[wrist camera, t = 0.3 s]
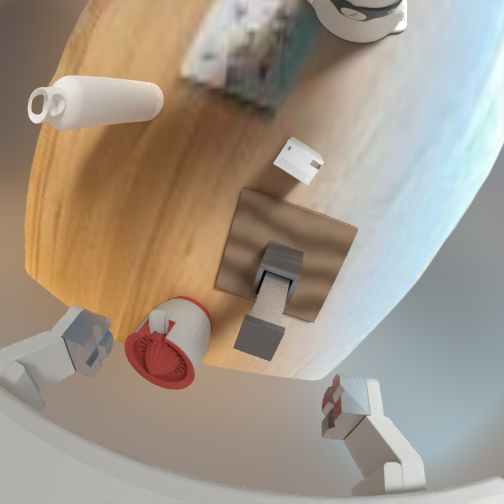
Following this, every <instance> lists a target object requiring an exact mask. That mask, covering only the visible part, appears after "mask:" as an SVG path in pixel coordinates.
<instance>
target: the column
mask: <svg viewBox="0 0 504 504" xmlns="http://www.w3.org/2000/svg"><path fill="white" fill-rule="evenodd" d="M289 283H290V279H289V278H286V277H283V276H281V275H278V274H275V273H272V272H270V271H267V272H266V275H265V278H264V280H263V283H262V286H261V288H260V291H259V294H258V296H257V299H256V302H255V305H254V307H253V310H252V313H251V315H248V314H246V315H245V317H244V320H243V323H242V325H241V328H240V331H239V334H238V336H237V339H236V342H235V345H234V348H235V349H237V350H240V351H243V352H245V353H248V354H251V355H254V356H257V357H260V358H262V359H265V360H268V361H271V359H272V357H273V355H274V353H275V351H276V349H277V347H278V345H279V343H280V341H281V339H282V337H283V335H284V331H285V328H284V327H281V326H280V324H281V319H282V315H283V310H284V306H285V301H286V297H287V292H288V287H289Z"/></svg>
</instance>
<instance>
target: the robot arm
mask: <svg viewBox="0 0 504 504" xmlns="http://www.w3.org/2000/svg"><path fill="white" fill-rule="evenodd" d="M306 1H308V2H309V3H310V4H311V5H312V6H313V8H314V10H315V12H316V14H317V17H318V18H319V20H320V22H321V23H322V24H323V25H324V26H325V27H326V28H327V29H328V30H329V31H330V32H332V33H333V34H335V35H336V36H338V37H340V38H342V39H345V40H348V41H352V42H359V43H366V42H373V41H376V40H379V39H381V38H383V37H384V36H386V35H388V34H390V33H396V32H402V31H404V30H405V29H406V27H407V0H306ZM401 20H402V21H401ZM110 326H111V325H110V320H109V319H108V318H106V317H104V316H101V315H98V314H96V313H93V312H91V311H88V310H86V309H83V308H81V307H78V306H76V305H74V306H72V307H70V309H69V310H68V311H67V312H66V313H65V315H64V316H63V317H62V318H61V319H60V320H59V321H58V323H57V324H56V325H55V326H54V327H53V329H52V330H51V331H50V332H49V331H45V332H43V333H40V334H38V335H35V336H32V337H30V338H28V339H25V340H22V341H20V342H17V343H15V344H12V345H10V346H7V347H5V348H2V349H0V504H504V480H503V479H502V478H501V477H498V476H495V477H489V478H486V479H482V480H478V481H474V482H470V483H465V484H461V485H456V486H451V487H445V488H440V489H433V490H427V491H426V482H425V474H424V467H423V460H422V459H421V457H420V456H419V455H418V454H417V452H416V451H415V450H414V449H413V448H412V446H411V445H410V444H409V443H408V442H407V440H406V439H405V438H404V437H403V435H402V434H401V433H400V432H399V430H398V429H397V428H396V427H395V425H394V424H393V423H392V422H391V421H390V419H389V418H388V417H384V413H383V406H382V400H381V394H380V387H379V382H378V380H377V379H370V378H363V377H356V376H347V375H340V374H338V375H336V376H335V377H334V379H333V386H331V387H328V389H327V390H326V392H325V395H324V398H323V403H322V412H323V414H324V415H325V416H326V417H325V418H324V420H323V421H322V438H331V439H339V440H344V443H345V445H346V447H347V448H348V450H349V451H350V454H351V455H352V457H353V459H354V460H355V462H356V464H357V466H358V468H359V469H360V471H361V473H362V474H363V476H364V478H365V479H363V480H362V481H360V482H359V483H357V484H356V485H355V486H353V487H352V496H326V495H307V494H295V493H285V492H276V491H268V490H262V489H255V488H249V487H243V486H237V485H233V484H227V483H223V482H218V481H213V480H209V479H205V478H201V477H197V476H193V475H189V474H186V473H182V472H179V471H176V470H172V469H169V468H166V467H163V466H160V465H156V464H154V463H151V462H148V461H145V460H142V459H139V458H137V457H134V456H131V455H129V454H126V453H124V452H121V451H119V450H116V449H113V448H111V447H109V446H107V445H104V444H102V443H100V442H98V441H95V440H93V439H91V438H89V437H87V436H85V435H83V434H81V433H79V432H76V431H75V430H73V429H71V428H69V427H67V426H65V425H63V424H61V423H59V422H57V421H55V420H54V419H52V418H50V417H49V416H47V415H45V414H43V413H42V412H43V410H44V409H45V407H46V405H45V402H44V400H43V399H42V397H41V395H40V393H41V392H43V391H45V390H46V389H48V388H50V387H51V386H53V385H54V384H56V383H58V382H60V381H61V380H63V379H65V378H66V377H68V376H70V375H71V374H73V373H75V371H77V372H79V373H82V374H84V375H86V376H89V377H92V378H95V376H96V375H97V373H98V371H99V370H100V368H101V366H102V363H101V360H102V359H104V358H107V357H108V355H109V353H110V352H111V349H112V345H113V335H112V333H111V332H110V331H109V327H110Z"/></svg>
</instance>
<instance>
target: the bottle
mask: <svg viewBox="0 0 504 504" xmlns="http://www.w3.org/2000/svg"><path fill="white" fill-rule="evenodd" d="M156 92H157V93H156ZM40 94H42V95H44V104H43V111H42V113H41V114H39V115H35V114H34V113H32V111H31V104H32V100H33V98H34V97H36V96H37V95H40ZM157 96H158V97H157ZM162 106H163V94H162V91H161V90H160V88H159V87H158V86H157V85H155V84H153V83H149V82H142V81H134V80H125V79H116V78H105V77H91V76H73V75H69V76H65V77H62V78H61V79H59V80H58V81H56V82H55V83H54V84H53V86H52V87H42V88H37V89H36V90H35V91H34V92H33V93H32V94H31V96H30V99H29V103H28V114H29V117H30V120H31V121H32V122H34V123H43V122H49V123H50V125H51V126H52V127H53V128H55V129H57V130H60V131H67V130H74V129H80V128H87V127H94V126H102V125H111V124H120V123H130V122H141V121H149V120H152V119H154V118H155V117H156V116H157V115H158V114H159V112H160V111H161V109H162ZM155 109H156V110H155ZM153 112H154V113H153Z"/></svg>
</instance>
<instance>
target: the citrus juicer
mask: <svg viewBox="0 0 504 504" xmlns="http://www.w3.org/2000/svg"><path fill="white" fill-rule="evenodd" d="M210 335H211V320H210V316H209V314H208V312H207V310H206V309H205V308H204V307H203V306H202V305H201V304H200V303H199V302H197V301H195V300H194V299H191V298H188V297H181V296H180V297H175V298H172V299H169V300H167V301H165V302H164V303H162V304H160V305H159V306H158V307H156V308H155V309H154V310H152V311H151V313H150V314H149V315H148V316H147V317H146V318H145V319H144V321H143V322H142V323H141V324H140V326H139V327H138V328H137V329H136V330H135V332H134V333H133V334H131V335H130V336H129V337H128V338H127V340H126V343H125V352H126V356H127V358H128V361H129V362H130V364H131V365H132V366H133V368H134V369H135V370H136V371H137V372H138V373H139V374H140V375H141V376H142V377H144V378H145V379H146V380H148V381H150V382H151V383H153V384H155V385H157V386H160V387H163V388H167V389H176V390H178V389H183V388H186V387H188V386H189V385H190V384H191V383H192V381H193V380H194V377H195V373H196V371H197V369H198V367H199V365H200V363H201V361H202V359H203V357H204V355H205V353H206V350H207V348H208V345H209V341H210Z"/></svg>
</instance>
